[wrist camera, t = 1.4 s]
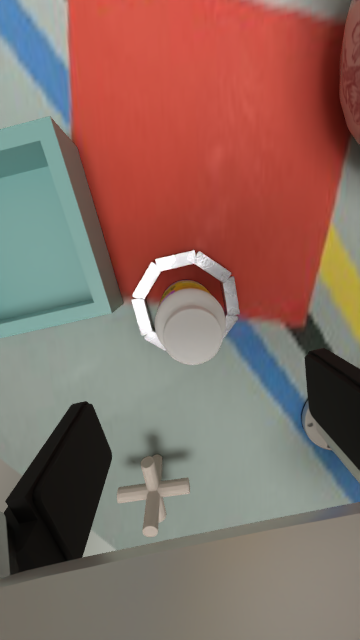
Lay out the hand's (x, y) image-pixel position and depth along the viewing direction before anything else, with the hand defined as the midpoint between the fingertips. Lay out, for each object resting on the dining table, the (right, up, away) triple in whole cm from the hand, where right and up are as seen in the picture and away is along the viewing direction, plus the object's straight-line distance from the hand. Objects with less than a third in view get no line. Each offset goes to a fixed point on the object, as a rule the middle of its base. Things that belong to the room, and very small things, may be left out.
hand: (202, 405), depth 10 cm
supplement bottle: (0, +6, +20) cm, 21 cm away
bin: (-19, +12, +18) cm, 29 cm away
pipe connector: (-5, -19, +27) cm, 33 cm away
